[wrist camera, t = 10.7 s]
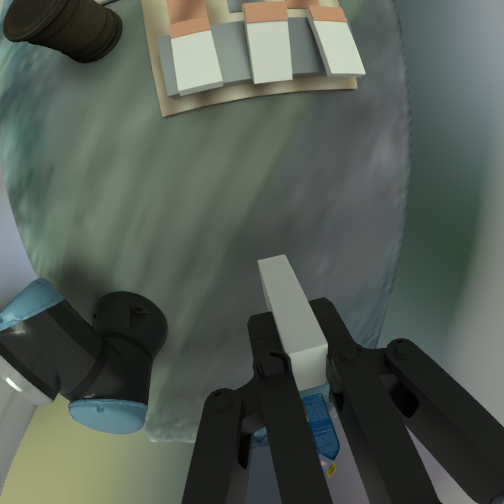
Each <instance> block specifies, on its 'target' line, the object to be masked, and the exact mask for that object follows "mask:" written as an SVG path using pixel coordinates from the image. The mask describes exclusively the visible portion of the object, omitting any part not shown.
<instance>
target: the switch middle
mask: <svg viewBox="0 0 504 504" xmlns="http://www.w3.org/2000/svg"><path fill="white" fill-rule="evenodd" d="M242 11H243V17H244V24H245V30H246V37H247V44H248V51H249V58H250V66H251V73H252V80H253V83H254V84H258V83H265V82H274V81H283V80H293V79H292V65H291V53H290V41H289V31H288V21H287V20H288V13H287V4H286V1H274V2H256V3H244V4H242Z"/></svg>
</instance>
